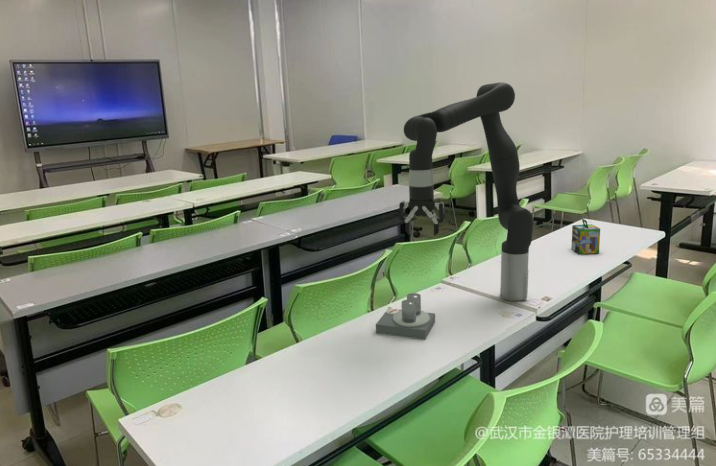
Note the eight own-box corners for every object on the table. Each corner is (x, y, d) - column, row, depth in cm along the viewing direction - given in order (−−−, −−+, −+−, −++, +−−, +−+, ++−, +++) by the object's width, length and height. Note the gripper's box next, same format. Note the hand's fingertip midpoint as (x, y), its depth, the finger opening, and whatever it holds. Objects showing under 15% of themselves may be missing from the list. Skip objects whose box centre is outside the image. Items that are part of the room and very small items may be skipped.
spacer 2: (417, 318, 167) (417, 300, 165) (414, 323, 163) (413, 305, 162) (404, 316, 169) (403, 298, 167) (400, 322, 165) (399, 304, 163)
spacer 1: (421, 310, 172) (421, 293, 171) (420, 316, 168) (420, 298, 167) (407, 310, 173) (407, 292, 172) (406, 315, 169) (406, 298, 168)
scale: (435, 321, 173) (435, 310, 172) (425, 339, 161) (425, 327, 160) (388, 316, 179) (388, 305, 178) (376, 333, 167) (375, 321, 166)
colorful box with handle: (599, 254, 233) (601, 221, 229) (578, 255, 233) (580, 222, 229) (590, 248, 242) (592, 216, 238) (570, 248, 242) (572, 217, 238)
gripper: (446, 181, 164) (447, 232, 168) (402, 181, 169) (403, 230, 173) (441, 186, 157) (442, 238, 161) (395, 185, 162) (397, 236, 166)
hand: (422, 234), depth 167 cm, fingers open, 8 cm apart
